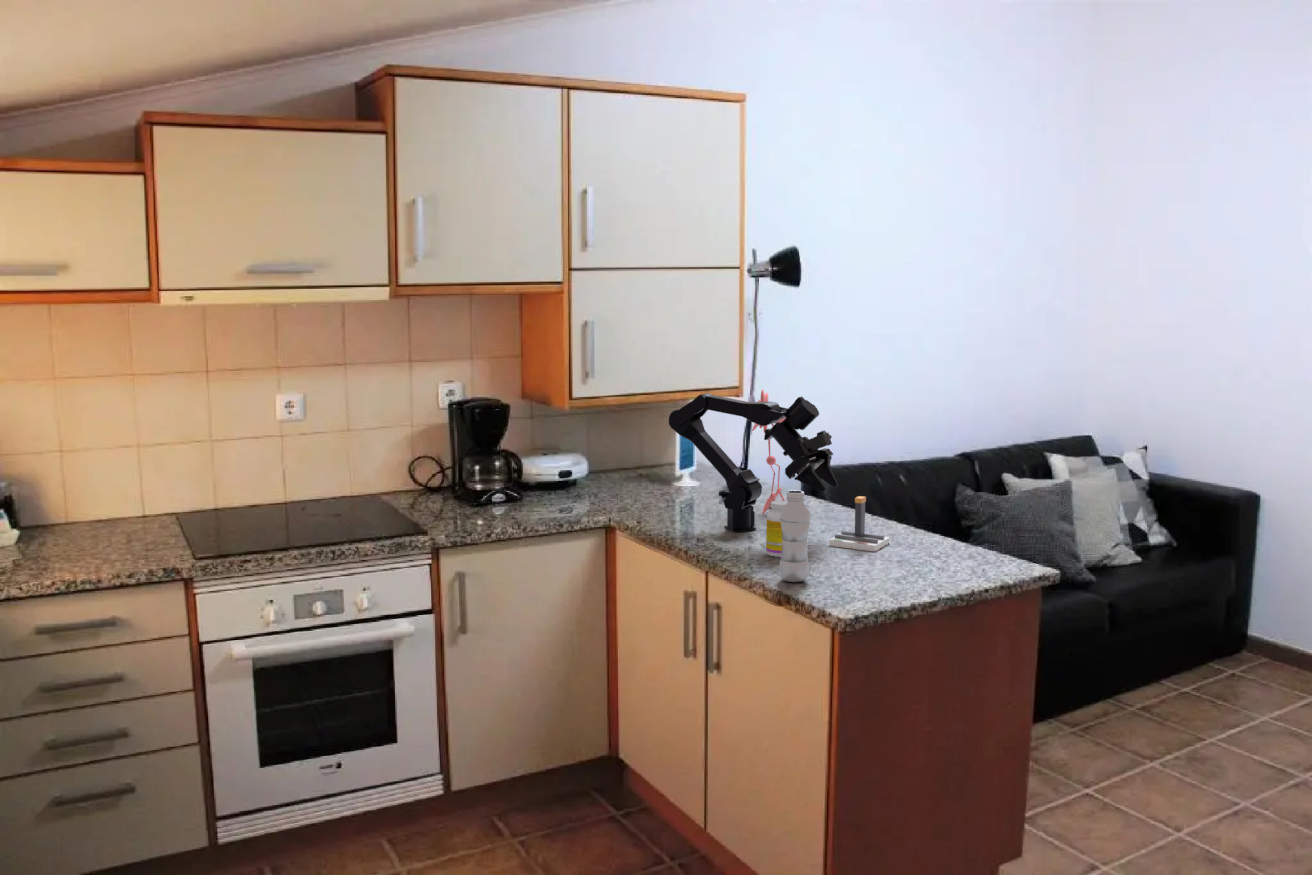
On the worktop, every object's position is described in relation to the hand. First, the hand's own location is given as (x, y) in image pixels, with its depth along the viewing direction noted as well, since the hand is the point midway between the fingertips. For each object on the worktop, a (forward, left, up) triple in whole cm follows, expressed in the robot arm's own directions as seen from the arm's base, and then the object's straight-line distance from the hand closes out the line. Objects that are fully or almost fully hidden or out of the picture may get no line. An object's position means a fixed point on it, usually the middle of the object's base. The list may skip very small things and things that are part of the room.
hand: (830, 488), depth 280 cm
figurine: (+4, +40, -14) cm, 43 cm away
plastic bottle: (-29, -29, -14) cm, 43 cm away
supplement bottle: (-19, -7, -14) cm, 24 cm away
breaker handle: (+4, -7, -12) cm, 14 cm away
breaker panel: (+4, -7, -13) cm, 16 cm away
